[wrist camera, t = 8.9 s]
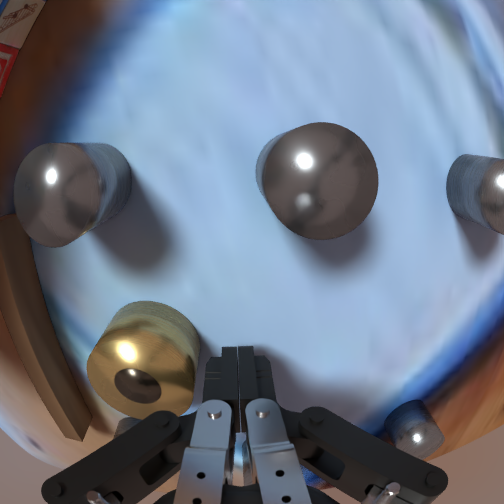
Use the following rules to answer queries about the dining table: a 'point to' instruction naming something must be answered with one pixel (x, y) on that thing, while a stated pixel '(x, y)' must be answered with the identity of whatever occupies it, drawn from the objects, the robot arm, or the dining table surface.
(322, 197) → the spacers
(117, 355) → the gold short domed cylinder
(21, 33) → the stack of blocks
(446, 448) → the dining table surface
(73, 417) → the bar
